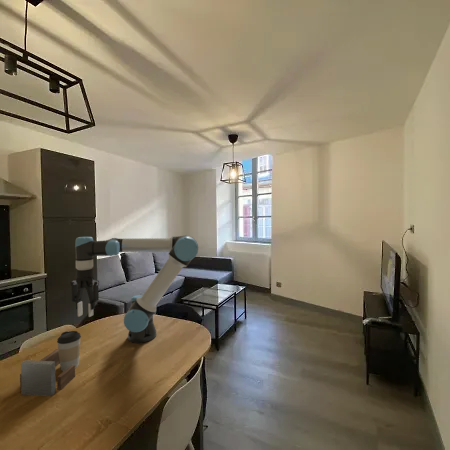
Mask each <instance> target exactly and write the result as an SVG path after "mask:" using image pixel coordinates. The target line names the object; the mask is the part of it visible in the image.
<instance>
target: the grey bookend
mask: <svg viewBox="0 0 450 450" xmlns="http://www.w3.org/2000/svg"><path fill="white" fill-rule="evenodd" d="M20 374H21V382H22V390H21V395H25V396H26V395H27V396H39V397H40V396H42V397H53V396H54V395H55V393H56V392H57V391H56V389H57V388H56V384H57V383H56V382H57V380H56V366H55V361H40V360H31V359H30V360H29V359H28V360H27V359H26V360H24V361H22V362H20Z"/></svg>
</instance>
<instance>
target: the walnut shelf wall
mask: <svg viewBox="0 0 450 450" xmlns="http://www.w3.org/2000/svg"><path fill="white" fill-rule="evenodd" d="M39 361H55V367H56V366H58V365H60V360H59V352H58V348H55V350H53V351H51V352H50V353H48V354H47V355H46V356H44V357H43V358H42V359H40V360H39ZM74 378H76V368H75V365H71V366H70V367H68V368H67V369H66V370H65V371H62V372H61V373H60V374H59V375H58V376H57V378H56V382H57V383H56V384H57V388H56V389H57V391H62V390H63V389H64V388H65V387H66V386H67V385H68V384H69V383H70V382H71V381H73V379H74ZM19 388H20V390H21V391H22V382H21V373H20V374H19Z"/></svg>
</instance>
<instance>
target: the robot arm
mask: <svg viewBox="0 0 450 450" xmlns="http://www.w3.org/2000/svg"><path fill="white" fill-rule="evenodd" d="M74 245H75V246H74V248H75V269H76V270H75V278H76V279H75V280H74V279H73V280H72V281H70V285H71V302H75V309H76V310H77V317H78V318H79V317H81V316H83V313H84V312H83V310H84V309H83V304H84V303H83V301H82V297H83V292H84V289H85V290H86V292H87V296H88V300H89V302H88V318H90V317H92V316H94V309H95V308H96V304H95V303H96V302H98V301H99V299H100V297H99V295H100V292H99V286H100V280H96V279H95V278H94V273H95V272H94V257H106V256H107V257H108V256H109V257H115V256H118V255H119V253H168V259H167V260H166V262H165V263H164V264H163V266H162V267H161V269H159V271H158V273H157V275H156V276H155V278H153V280H152V281H151V283H150V284H149V285H148V287H147V289H146V290H145V291H144V293H143V294H138V295H134V296H132V297H131V298H130V307H129V308H128V310H127V312H125V314H124V317H123V325H124V327H125V328H126V329H127V330H128V333H127V339H128V341H129V342H131V343H133V344H134V343H135V344H141V343H142V344H143V343H146V342H149V341H152V340H153V339H155V338H156V337H157V329H156V326H155V323H154V315H155V313H156V312H157V305H158V303H159V302H160V301H161V299H162V297H164V295H165V294H166V292H167V291H168V289H169V288H170V286H171V285H172V284H173V282H174V280H175V279H176V278H177V276H178V275H179V274H180V272H181V271H182V269H183V268H186V267H188V266H189V264H190V263H191V261H192V260H193V259H194V258H196V257H197V255H198V252H199V244H198V243H197V240H196V239H195V238H194V237H193V236H191V235H187V234H186V235H179V236H178V235H177V236H171V237H170V238H167V237H166V238H158V237H157V238H153V237H151V238H146V237H145V238H117V237H112V238H110V239H106V240H94V238H93V237H92V236H79V237H76V239H75V244H74Z"/></svg>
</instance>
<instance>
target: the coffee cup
mask: <svg viewBox="0 0 450 450" xmlns="http://www.w3.org/2000/svg"><path fill="white" fill-rule="evenodd" d="M81 338H82V335H81V333H80V332H78V331H77V330H70V331H63V332H62V333H61V334H60V336H59V337H58V338H57V349H58V352H59V360H60V363H59V367H60V371H62V372H64V371H65V370H66V369H67V368H68V367H70V366H71V365H75V369H76V368H77V367H79V365H80V364H79V363H80V354H81V353H80V352H81Z"/></svg>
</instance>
